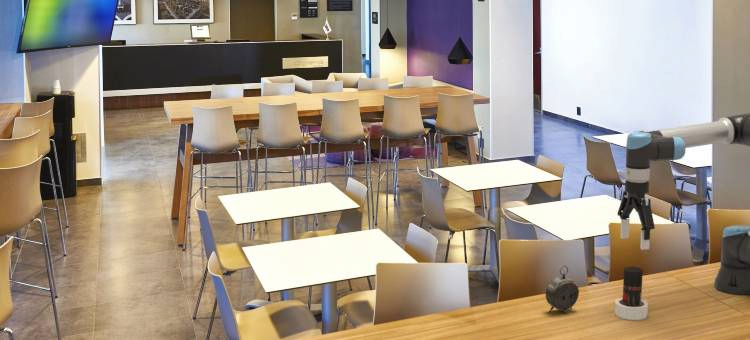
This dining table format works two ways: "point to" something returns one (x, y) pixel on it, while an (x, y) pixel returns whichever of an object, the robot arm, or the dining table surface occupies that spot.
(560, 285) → the alarm clock
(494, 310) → the dining table surface
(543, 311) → the dining table surface
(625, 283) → the deodorant
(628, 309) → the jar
